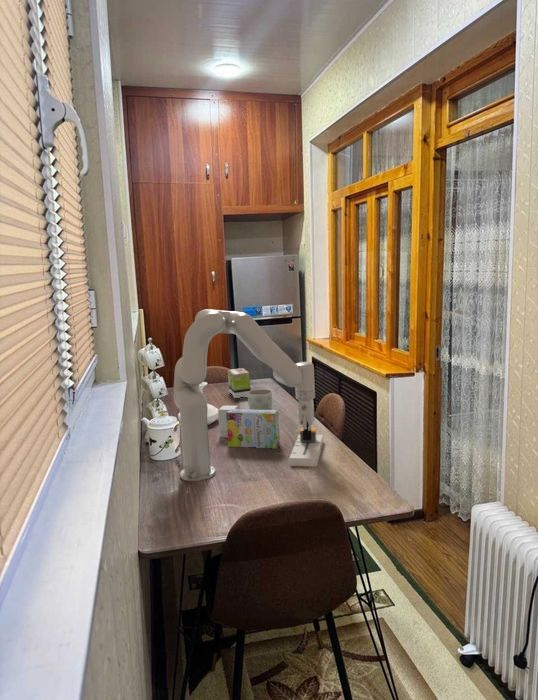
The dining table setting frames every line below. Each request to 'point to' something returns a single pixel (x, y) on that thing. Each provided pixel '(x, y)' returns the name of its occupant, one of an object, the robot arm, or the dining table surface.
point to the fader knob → (313, 435)
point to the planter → (260, 399)
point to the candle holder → (212, 411)
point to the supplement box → (224, 419)
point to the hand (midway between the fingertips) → (307, 439)
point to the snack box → (253, 428)
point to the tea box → (239, 382)
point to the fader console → (306, 452)
